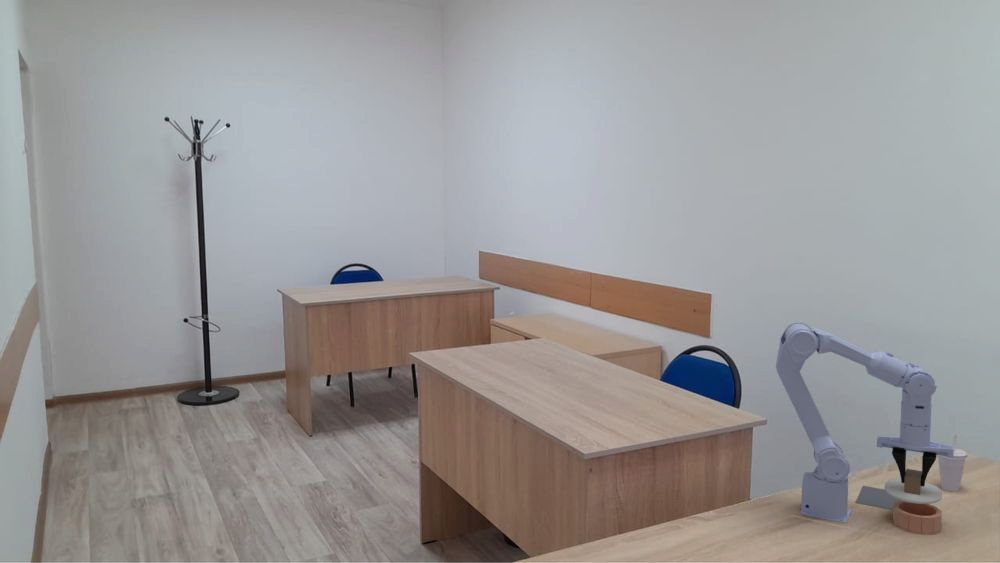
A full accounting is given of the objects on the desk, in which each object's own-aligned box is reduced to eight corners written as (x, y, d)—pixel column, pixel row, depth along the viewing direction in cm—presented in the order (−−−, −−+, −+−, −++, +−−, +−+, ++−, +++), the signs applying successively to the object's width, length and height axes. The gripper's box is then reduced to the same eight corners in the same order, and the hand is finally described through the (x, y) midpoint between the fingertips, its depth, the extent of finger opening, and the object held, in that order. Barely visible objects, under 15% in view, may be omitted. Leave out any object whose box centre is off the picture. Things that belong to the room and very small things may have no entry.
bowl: (890, 529, 157) (891, 511, 156) (895, 514, 164) (896, 497, 164) (939, 539, 152) (940, 521, 151) (942, 523, 159) (942, 505, 159)
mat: (855, 504, 170) (855, 502, 170) (862, 487, 180) (863, 485, 180) (913, 515, 164) (914, 513, 163) (918, 497, 173) (918, 495, 173)
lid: (881, 497, 159) (882, 478, 158) (887, 478, 168) (887, 460, 167) (940, 508, 153) (941, 488, 152) (943, 487, 162) (943, 469, 161)
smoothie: (964, 497, 173) (966, 439, 171) (933, 491, 177) (935, 435, 175) (966, 488, 178) (969, 432, 177) (936, 482, 182) (938, 428, 180)
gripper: (955, 423, 157) (952, 483, 159) (880, 413, 165) (878, 471, 167) (954, 431, 151) (951, 494, 153) (876, 421, 159) (874, 481, 161)
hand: (913, 483), depth 159 cm, fingers closed on lid, 3 cm apart
